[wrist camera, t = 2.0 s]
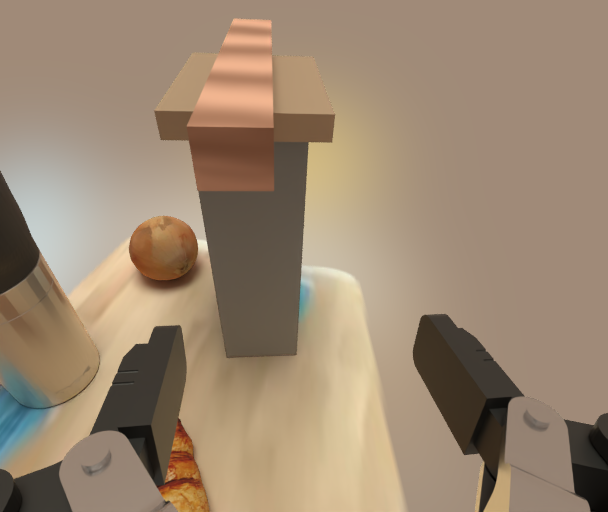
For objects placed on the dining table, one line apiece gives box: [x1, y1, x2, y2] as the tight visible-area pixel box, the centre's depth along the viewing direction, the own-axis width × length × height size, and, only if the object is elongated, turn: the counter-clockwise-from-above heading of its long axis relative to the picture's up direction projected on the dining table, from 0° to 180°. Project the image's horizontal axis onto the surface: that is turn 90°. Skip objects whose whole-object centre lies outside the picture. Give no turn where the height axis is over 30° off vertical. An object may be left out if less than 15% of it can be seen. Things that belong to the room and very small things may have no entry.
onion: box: [129, 216, 198, 280], centre depth 54 cm, size 10×10×10 cm
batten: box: [187, 19, 274, 191], centre depth 25 cm, size 26×4×3 cm, turn 4°
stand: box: [154, 53, 335, 357], centre depth 41 cm, size 16×12×32 cm
